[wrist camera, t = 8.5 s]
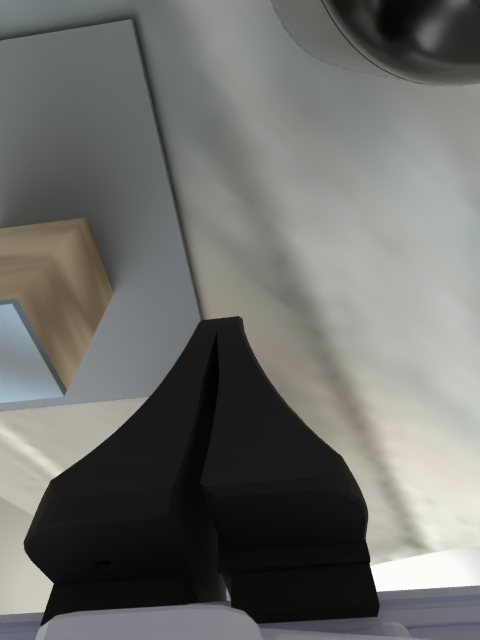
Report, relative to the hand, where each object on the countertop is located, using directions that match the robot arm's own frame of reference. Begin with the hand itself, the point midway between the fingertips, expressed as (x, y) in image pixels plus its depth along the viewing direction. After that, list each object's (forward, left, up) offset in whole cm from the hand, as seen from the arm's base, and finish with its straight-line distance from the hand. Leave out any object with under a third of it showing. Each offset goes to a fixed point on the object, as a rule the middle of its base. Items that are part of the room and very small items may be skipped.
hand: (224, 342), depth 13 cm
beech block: (0, +8, -7) cm, 11 cm away
